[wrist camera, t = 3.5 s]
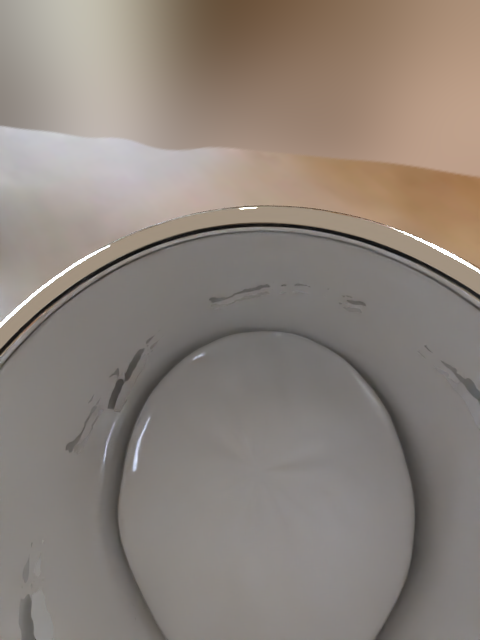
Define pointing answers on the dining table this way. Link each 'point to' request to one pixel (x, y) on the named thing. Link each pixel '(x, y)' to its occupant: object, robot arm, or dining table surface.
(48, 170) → the dining table surface
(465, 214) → the dining table surface
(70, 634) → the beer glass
